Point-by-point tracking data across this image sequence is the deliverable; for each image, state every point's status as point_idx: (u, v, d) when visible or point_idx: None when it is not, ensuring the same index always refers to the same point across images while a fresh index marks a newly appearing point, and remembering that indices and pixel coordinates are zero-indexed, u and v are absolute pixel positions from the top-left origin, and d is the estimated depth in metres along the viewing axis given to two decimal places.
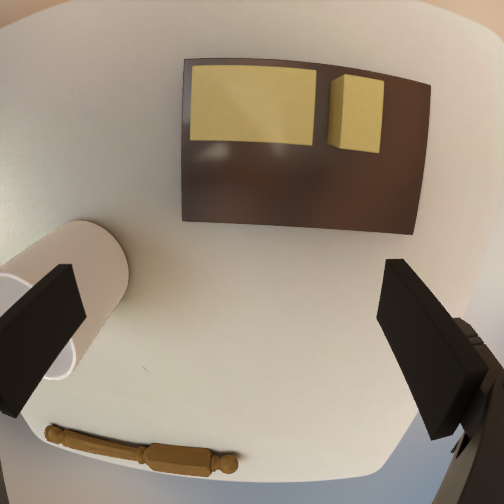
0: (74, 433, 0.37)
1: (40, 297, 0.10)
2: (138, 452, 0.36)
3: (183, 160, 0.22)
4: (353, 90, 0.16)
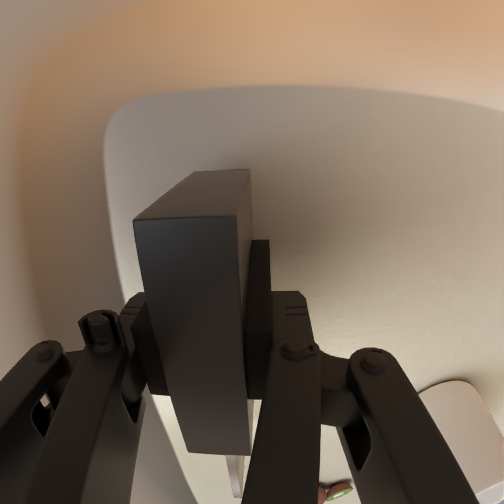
0: None
1: None
2: None
3: None
4: None
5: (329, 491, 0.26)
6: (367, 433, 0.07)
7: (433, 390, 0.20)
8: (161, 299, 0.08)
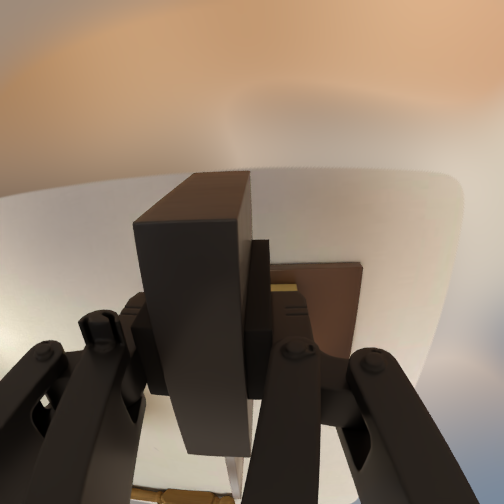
0: None
1: None
2: (157, 496, 0.42)
3: None
4: None
5: None
6: (367, 433, 0.07)
7: None
8: (160, 302, 0.08)
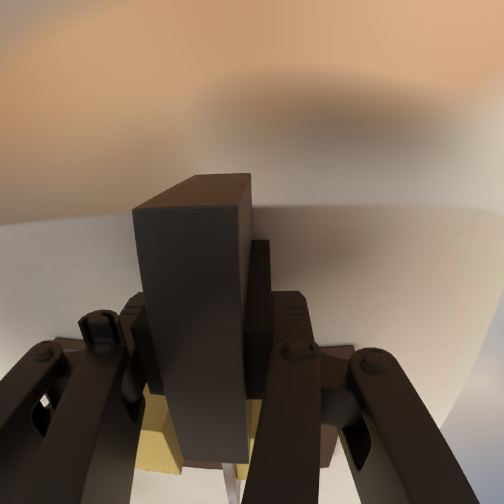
0: None
1: None
2: None
3: None
4: None
5: None
6: (367, 433, 0.07)
7: None
8: (158, 292, 0.08)
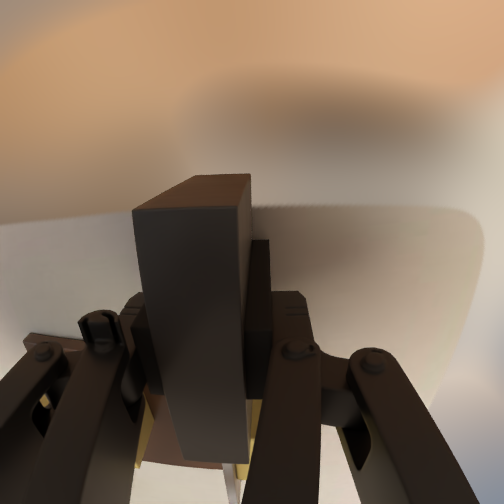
0: None
1: None
2: None
3: None
4: None
5: None
6: (367, 433, 0.07)
7: None
8: (158, 293, 0.08)
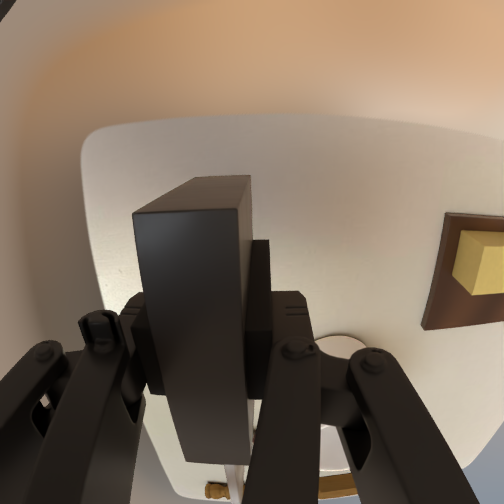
0: None
1: None
2: None
3: (436, 291, 0.27)
4: None
5: None
6: (367, 433, 0.07)
7: (320, 340, 0.30)
8: (159, 296, 0.08)
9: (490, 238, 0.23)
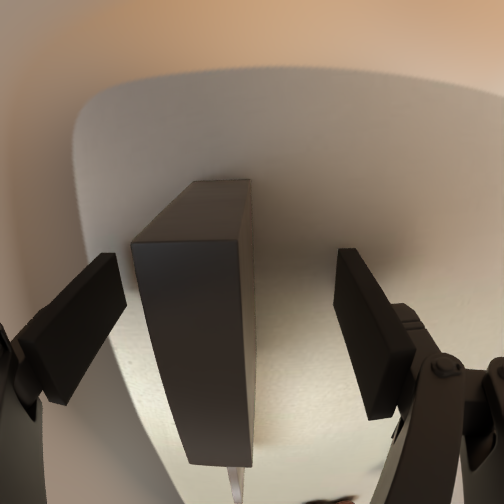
0: None
1: (89, 284, 0.11)
2: None
3: None
4: None
5: None
6: (483, 439, 0.06)
7: None
8: (160, 321, 0.08)
9: None
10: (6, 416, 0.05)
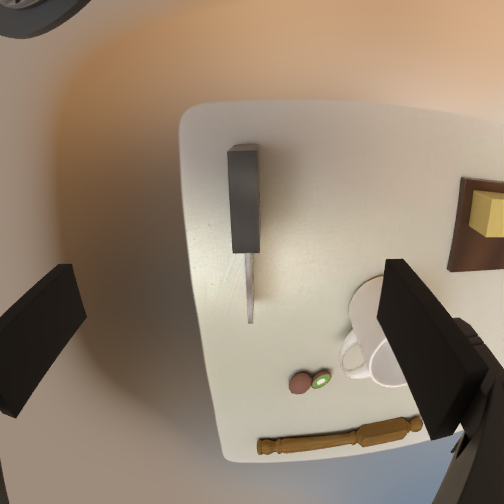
0: (289, 439, 0.49)
1: (40, 297, 0.10)
2: (353, 435, 0.47)
3: (458, 238, 0.34)
4: None
5: (313, 377, 0.43)
6: None
7: (373, 279, 0.37)
8: (233, 175, 0.26)
9: (495, 195, 0.29)
10: None
